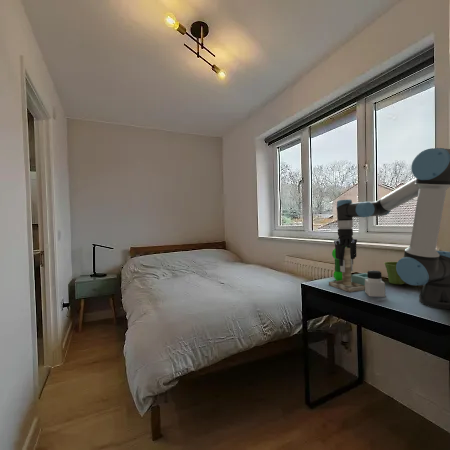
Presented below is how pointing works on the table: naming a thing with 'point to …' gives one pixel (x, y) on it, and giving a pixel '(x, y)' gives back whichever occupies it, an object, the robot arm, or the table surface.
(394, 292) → the table surface
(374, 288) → the medicine bottle
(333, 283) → the tray
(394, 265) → the plant pot
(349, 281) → the dowel
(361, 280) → the teal square bowl
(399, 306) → the table surface
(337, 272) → the plastic bottle
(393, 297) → the table surface
